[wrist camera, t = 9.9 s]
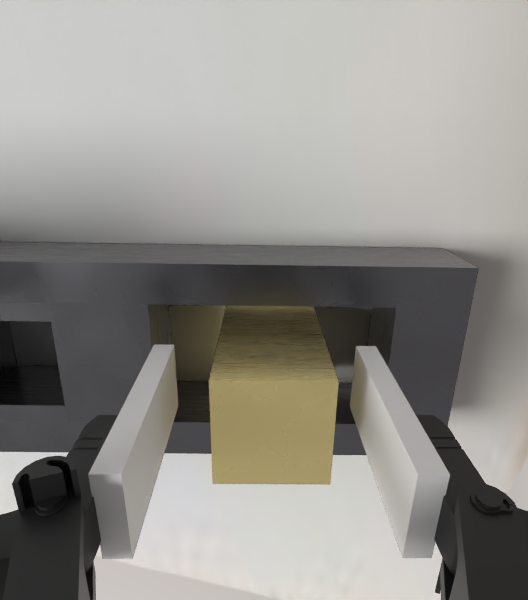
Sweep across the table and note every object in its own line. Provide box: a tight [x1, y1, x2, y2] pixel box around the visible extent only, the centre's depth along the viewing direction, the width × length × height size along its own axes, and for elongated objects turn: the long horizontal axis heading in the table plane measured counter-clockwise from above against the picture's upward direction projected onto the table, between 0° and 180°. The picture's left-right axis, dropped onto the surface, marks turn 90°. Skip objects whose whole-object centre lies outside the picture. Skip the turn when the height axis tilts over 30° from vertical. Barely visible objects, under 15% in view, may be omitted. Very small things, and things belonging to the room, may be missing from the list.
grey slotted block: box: [0, 242, 478, 455], centre depth 19 cm, size 9×24×4 cm, turn 89°
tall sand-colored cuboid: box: [209, 305, 339, 484], centre depth 17 cm, size 4×4×8 cm
